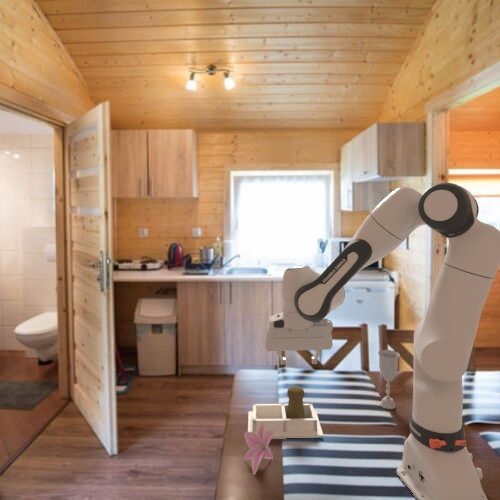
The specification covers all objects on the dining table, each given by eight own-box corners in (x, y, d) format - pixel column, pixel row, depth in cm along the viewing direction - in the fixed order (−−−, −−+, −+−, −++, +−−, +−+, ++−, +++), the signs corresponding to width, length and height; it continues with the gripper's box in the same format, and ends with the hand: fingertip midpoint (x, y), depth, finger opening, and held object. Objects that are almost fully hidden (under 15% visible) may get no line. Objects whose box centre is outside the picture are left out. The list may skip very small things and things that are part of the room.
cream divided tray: (323, 438, 115) (323, 423, 115) (247, 439, 116) (247, 424, 115) (315, 413, 129) (315, 400, 129) (248, 414, 130) (248, 401, 129)
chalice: (401, 410, 130) (403, 357, 128) (380, 410, 130) (382, 358, 128) (394, 399, 138) (395, 349, 136) (374, 400, 138) (375, 349, 136)
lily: (246, 448, 113) (232, 427, 109) (284, 433, 112) (272, 411, 108) (251, 488, 102) (236, 466, 98) (293, 472, 101) (280, 449, 97)
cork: (305, 417, 125) (305, 383, 124) (306, 427, 119) (306, 392, 118) (286, 416, 126) (285, 383, 124) (285, 426, 120) (285, 392, 118)
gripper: (330, 315, 122) (331, 358, 123) (264, 317, 122) (265, 360, 123) (334, 320, 115) (335, 366, 117) (264, 323, 116) (265, 368, 117)
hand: (298, 363), depth 120 cm, fingers open, 8 cm apart
